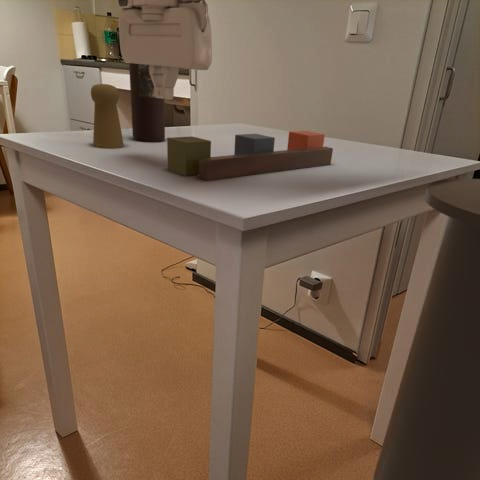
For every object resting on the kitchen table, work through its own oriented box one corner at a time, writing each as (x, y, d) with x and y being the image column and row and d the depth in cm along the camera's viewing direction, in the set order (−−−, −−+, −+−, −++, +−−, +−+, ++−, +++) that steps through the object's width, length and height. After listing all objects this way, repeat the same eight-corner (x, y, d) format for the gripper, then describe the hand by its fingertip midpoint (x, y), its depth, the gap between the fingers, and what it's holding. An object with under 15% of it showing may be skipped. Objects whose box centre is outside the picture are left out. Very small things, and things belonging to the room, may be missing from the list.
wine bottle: (138, 142, 97) (130, -33, 83) (129, 137, 103) (120, -28, 88) (169, 141, 100) (167, -27, 86) (159, 137, 106) (155, -23, 91)
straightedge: (330, 164, 89) (333, 148, 87) (206, 180, 70) (206, 160, 68) (322, 162, 90) (325, 146, 89) (198, 178, 71) (198, 158, 70)
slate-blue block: (272, 166, 83) (274, 137, 80) (252, 169, 80) (254, 138, 77) (253, 161, 86) (255, 133, 84) (233, 163, 83) (235, 134, 81)
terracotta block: (321, 160, 92) (325, 134, 89) (304, 162, 89) (308, 135, 86) (302, 156, 95) (305, 130, 92) (286, 158, 92) (289, 131, 89)
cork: (116, 149, 89) (112, 85, 83) (87, 146, 90) (81, 83, 84) (128, 144, 94) (125, 85, 89) (101, 142, 95) (96, 82, 89)
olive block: (210, 173, 75) (211, 140, 72) (185, 176, 72) (185, 142, 69) (191, 167, 78) (192, 136, 76) (167, 170, 75) (167, 137, 73)
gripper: (224, -5, 63) (220, 106, 69) (144, 0, 75) (147, 93, 82) (187, -12, 59) (186, 105, 66) (109, -6, 71) (115, 92, 78)
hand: (164, 98), depth 74 cm, fingers closed
